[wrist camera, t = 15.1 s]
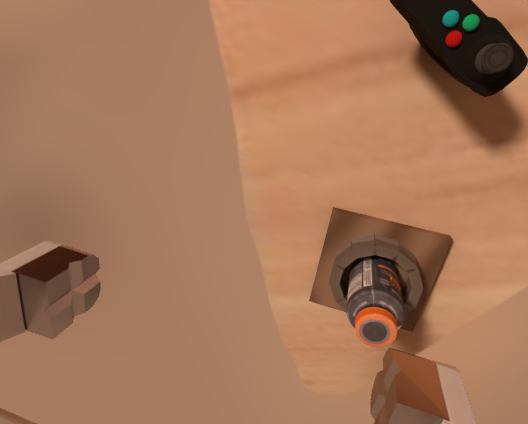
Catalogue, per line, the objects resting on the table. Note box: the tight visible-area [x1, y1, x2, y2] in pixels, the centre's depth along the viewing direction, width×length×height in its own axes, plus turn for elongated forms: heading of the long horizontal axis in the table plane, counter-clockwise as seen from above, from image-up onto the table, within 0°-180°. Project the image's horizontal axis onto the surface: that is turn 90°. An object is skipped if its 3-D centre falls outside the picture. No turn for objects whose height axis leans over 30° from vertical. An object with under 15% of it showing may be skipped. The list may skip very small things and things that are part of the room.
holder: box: [309, 207, 452, 332], centre depth 43 cm, size 14×14×4 cm
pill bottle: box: [347, 255, 405, 347], centre depth 38 cm, size 6×6×11 cm
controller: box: [390, 0, 528, 97], centre depth 29 cm, size 4×12×10 cm, turn 48°
